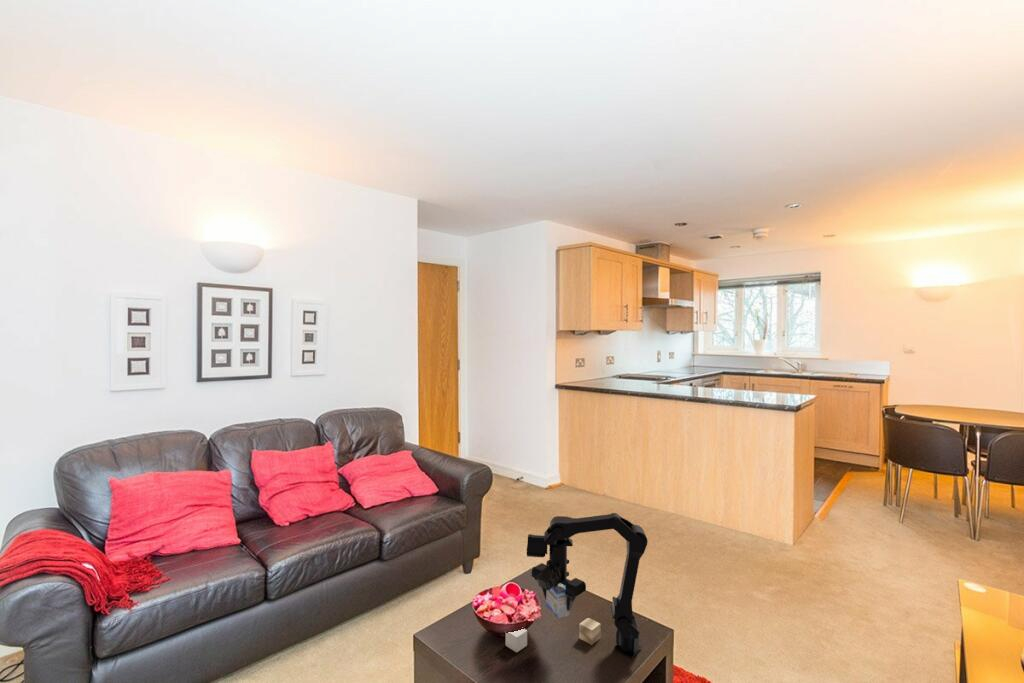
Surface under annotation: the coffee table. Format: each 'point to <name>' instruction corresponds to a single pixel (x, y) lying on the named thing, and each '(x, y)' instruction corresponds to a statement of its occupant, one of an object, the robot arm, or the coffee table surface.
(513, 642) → the grey plastic cube
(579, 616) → the coffee table surface
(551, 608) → the medicine box
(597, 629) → the maple cube
